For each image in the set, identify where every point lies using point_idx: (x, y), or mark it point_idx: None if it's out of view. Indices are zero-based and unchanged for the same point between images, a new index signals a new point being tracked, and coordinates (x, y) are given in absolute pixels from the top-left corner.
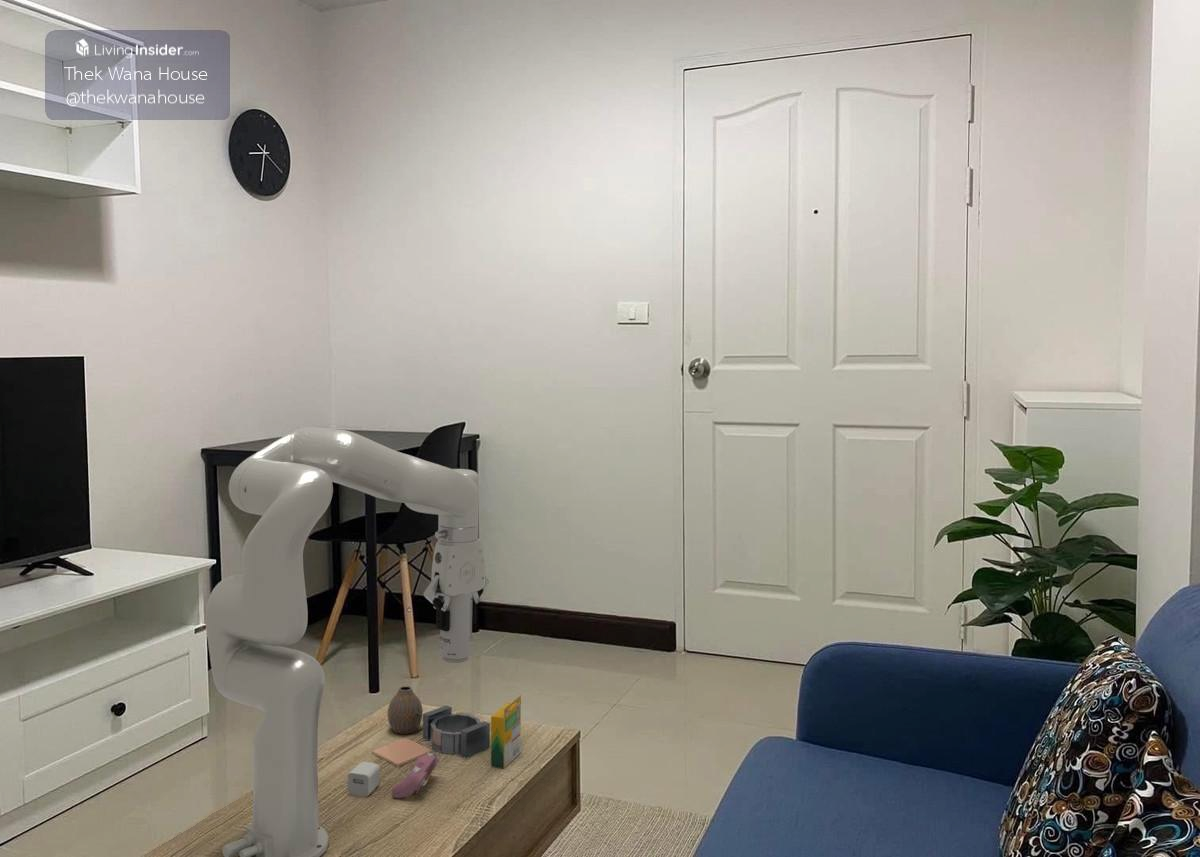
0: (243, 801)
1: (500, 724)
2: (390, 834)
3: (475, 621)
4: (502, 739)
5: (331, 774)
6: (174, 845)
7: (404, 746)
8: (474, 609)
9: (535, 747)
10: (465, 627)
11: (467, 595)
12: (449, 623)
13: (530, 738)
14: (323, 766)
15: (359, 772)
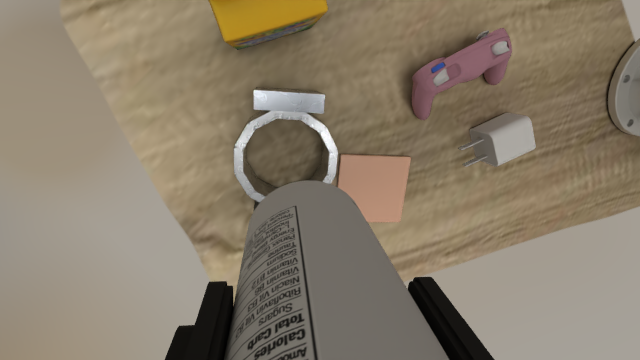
0: (578, 223)
1: None
2: None
3: (213, 287)
4: None
5: (476, 207)
6: None
7: (358, 199)
8: (205, 358)
9: (182, 11)
10: (339, 245)
11: None
12: (429, 305)
13: (158, 52)
14: (464, 233)
15: (529, 136)
